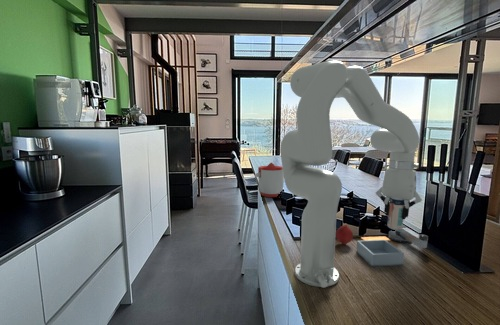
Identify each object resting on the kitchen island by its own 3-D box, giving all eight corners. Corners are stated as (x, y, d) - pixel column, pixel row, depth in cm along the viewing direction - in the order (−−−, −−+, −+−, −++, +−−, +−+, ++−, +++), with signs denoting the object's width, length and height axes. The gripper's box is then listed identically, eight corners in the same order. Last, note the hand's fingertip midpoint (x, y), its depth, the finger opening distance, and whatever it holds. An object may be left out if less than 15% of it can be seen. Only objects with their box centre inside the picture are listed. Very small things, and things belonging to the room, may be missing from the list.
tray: (402, 265, 89) (403, 253, 89) (372, 266, 88) (372, 254, 87) (384, 250, 99) (385, 239, 99) (356, 251, 98) (357, 240, 97)
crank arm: (393, 231, 110) (394, 221, 110) (401, 231, 111) (402, 221, 110) (420, 249, 96) (421, 237, 95) (430, 248, 96) (431, 237, 95)
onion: (341, 248, 100) (342, 227, 99) (332, 242, 106) (333, 221, 104) (355, 247, 102) (356, 225, 100) (346, 240, 107) (347, 220, 106)
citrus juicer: (252, 192, 177) (253, 161, 174) (279, 191, 180) (280, 160, 177) (258, 199, 161) (258, 165, 158) (287, 198, 164) (288, 164, 161)
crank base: (416, 242, 106) (417, 238, 105) (368, 244, 104) (368, 240, 103) (403, 233, 114) (403, 229, 113) (358, 235, 112) (358, 231, 111)
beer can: (389, 224, 104) (392, 193, 102) (403, 228, 101) (407, 195, 99) (385, 228, 100) (388, 195, 99) (400, 231, 97) (404, 197, 96)
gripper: (431, 167, 95) (425, 219, 98) (378, 162, 106) (373, 209, 108) (428, 170, 89) (421, 225, 92) (372, 164, 100) (367, 213, 102)
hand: (395, 216), depth 100 cm, fingers closed on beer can, 4 cm apart
